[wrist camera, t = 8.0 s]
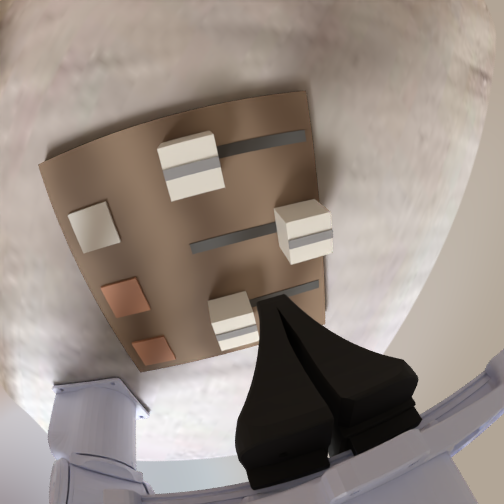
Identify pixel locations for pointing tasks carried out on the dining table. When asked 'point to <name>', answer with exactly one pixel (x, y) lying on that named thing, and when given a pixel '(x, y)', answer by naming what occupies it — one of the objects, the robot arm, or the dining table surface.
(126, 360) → the dining table surface
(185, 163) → the slider
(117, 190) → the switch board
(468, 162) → the dining table surface
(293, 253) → the slider middle
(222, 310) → the slider
